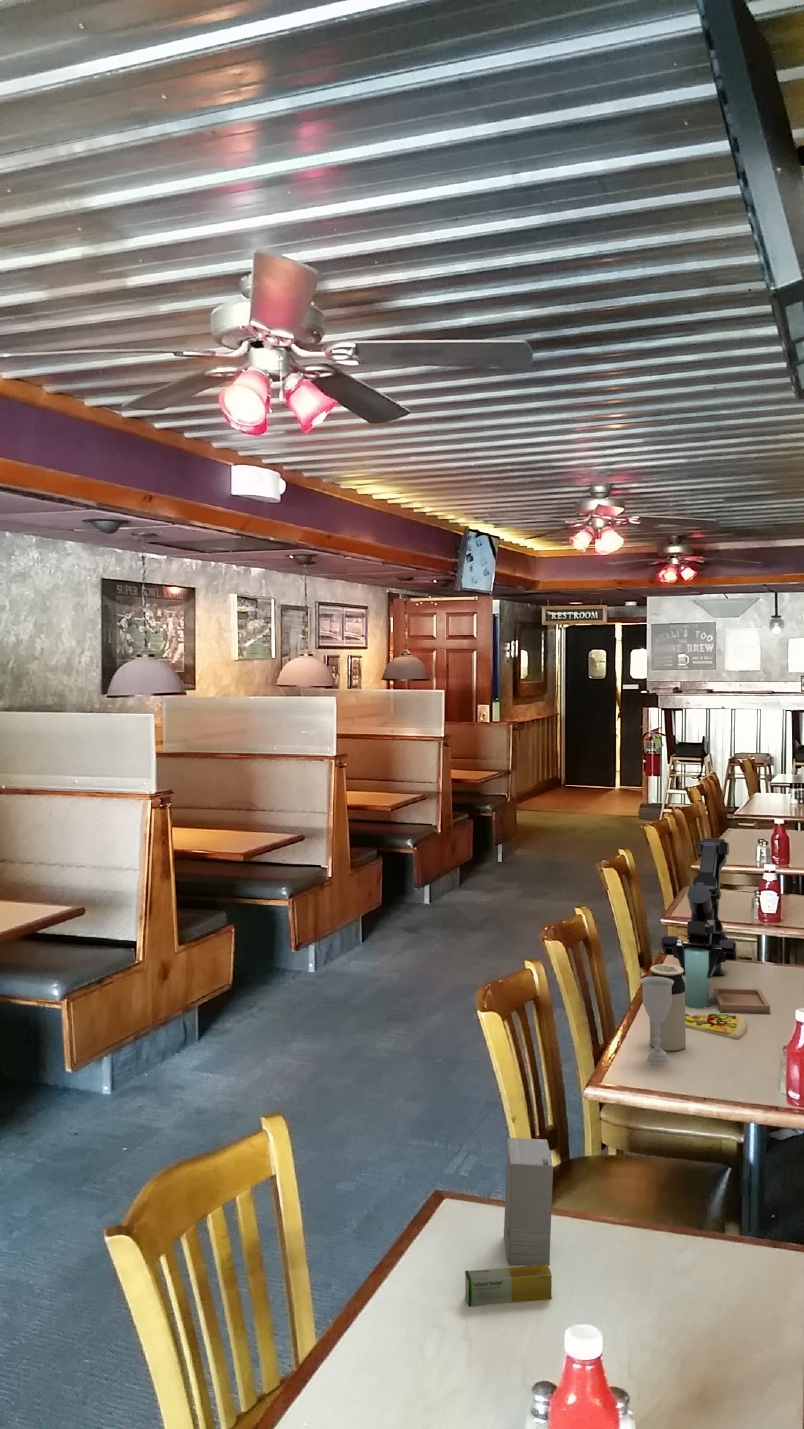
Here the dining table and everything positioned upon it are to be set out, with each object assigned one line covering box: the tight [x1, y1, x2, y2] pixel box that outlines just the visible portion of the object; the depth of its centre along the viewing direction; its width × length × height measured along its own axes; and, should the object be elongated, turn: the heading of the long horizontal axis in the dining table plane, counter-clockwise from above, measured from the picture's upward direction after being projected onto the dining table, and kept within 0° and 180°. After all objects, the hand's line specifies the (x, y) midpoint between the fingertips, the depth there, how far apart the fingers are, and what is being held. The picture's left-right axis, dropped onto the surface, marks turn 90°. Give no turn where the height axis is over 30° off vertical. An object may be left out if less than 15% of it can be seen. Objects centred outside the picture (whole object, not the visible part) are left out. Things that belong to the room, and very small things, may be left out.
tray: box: [712, 987, 771, 1015], centre depth 270 cm, size 14×12×2 cm
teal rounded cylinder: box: [684, 948, 710, 1009], centre depth 271 cm, size 6×6×14 cm
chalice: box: [639, 976, 674, 1066], centre depth 233 cm, size 7×7×18 cm
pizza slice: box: [685, 1013, 748, 1041], centre depth 256 cm, size 16×21×3 cm
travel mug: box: [649, 963, 687, 1052], centre depth 242 cm, size 8×8×18 cm
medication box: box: [464, 1265, 553, 1307], centre depth 147 cm, size 12×3×4 cm, turn 97°
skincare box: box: [503, 1137, 554, 1266], centre depth 158 cm, size 8×7×16 cm
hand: (696, 976), depth 270 cm, fingers closed on teal rounded cylinder, 6 cm apart
